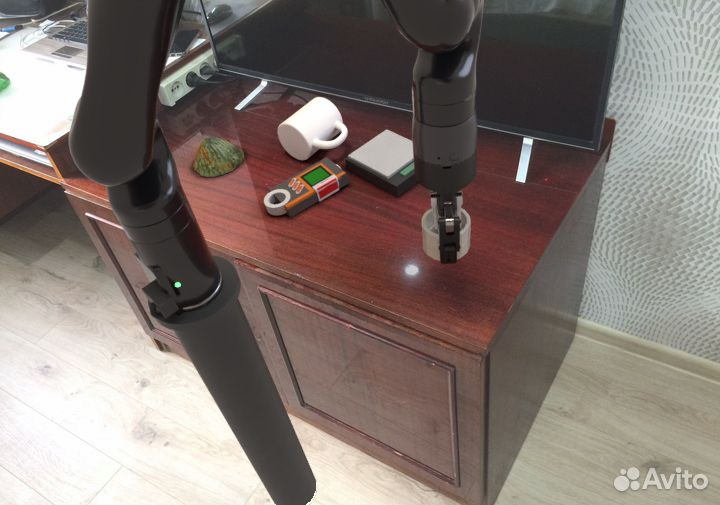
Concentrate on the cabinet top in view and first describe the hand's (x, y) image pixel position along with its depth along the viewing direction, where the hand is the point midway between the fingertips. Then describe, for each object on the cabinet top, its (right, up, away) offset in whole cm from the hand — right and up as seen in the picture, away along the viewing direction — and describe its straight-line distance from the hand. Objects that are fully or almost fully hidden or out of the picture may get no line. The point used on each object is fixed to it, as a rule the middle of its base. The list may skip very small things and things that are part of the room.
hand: (446, 243), depth 81 cm
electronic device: (-21, +9, +23) cm, 33 cm away
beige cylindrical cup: (0, 0, +1) cm, 1 cm away
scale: (-6, +14, +26) cm, 30 cm away
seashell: (-39, +16, +34) cm, 55 cm away
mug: (-19, +19, +33) cm, 42 cm away
